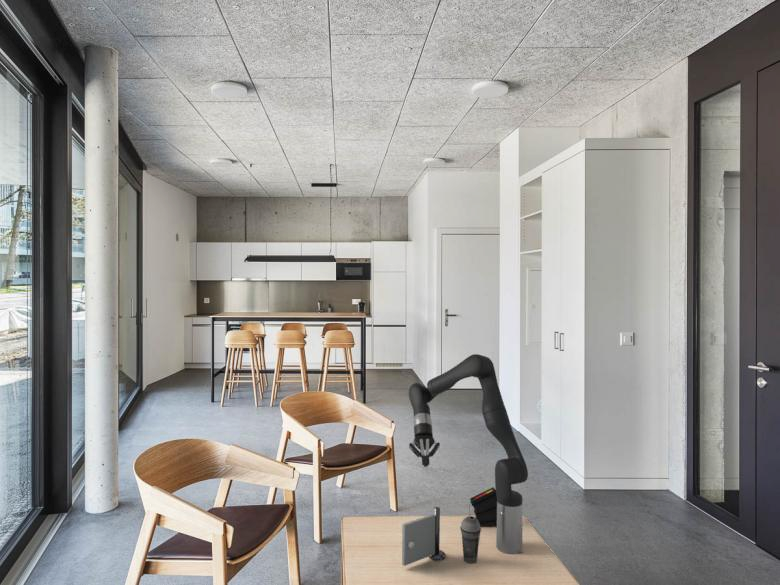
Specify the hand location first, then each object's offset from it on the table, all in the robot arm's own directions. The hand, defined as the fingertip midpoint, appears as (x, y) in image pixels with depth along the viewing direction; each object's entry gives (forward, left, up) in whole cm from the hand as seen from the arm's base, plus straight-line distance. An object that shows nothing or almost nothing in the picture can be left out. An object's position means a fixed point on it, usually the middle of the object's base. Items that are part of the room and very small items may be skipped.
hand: (425, 465), depth 220 cm
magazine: (-24, -10, -27) cm, 37 cm away
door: (-1, +25, -25) cm, 35 cm away
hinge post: (-6, +19, -26) cm, 33 cm away
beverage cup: (-18, +20, -27) cm, 37 cm away
